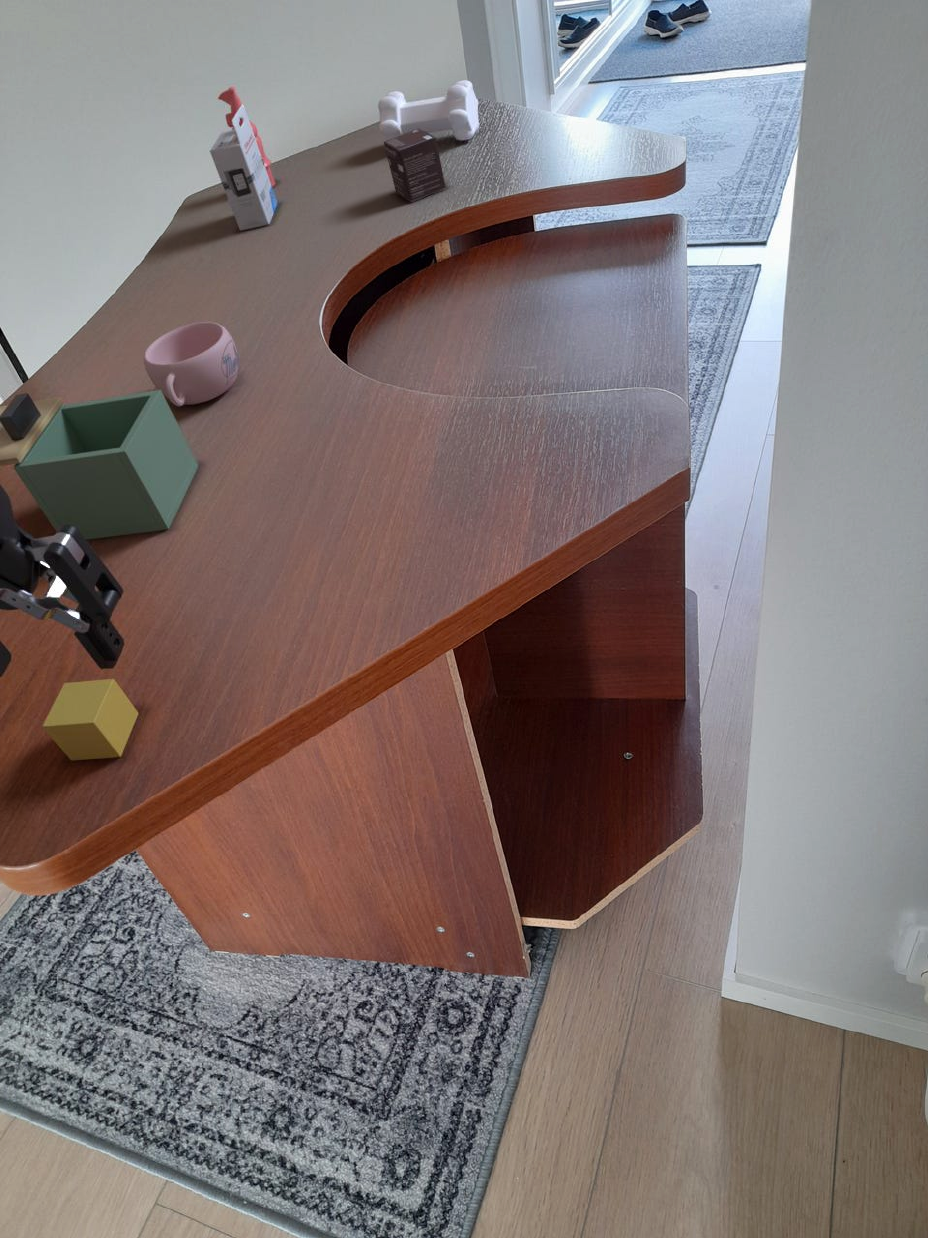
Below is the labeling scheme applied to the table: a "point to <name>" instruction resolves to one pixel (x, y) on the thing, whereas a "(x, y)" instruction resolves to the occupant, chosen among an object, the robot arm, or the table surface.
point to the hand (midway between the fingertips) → (57, 664)
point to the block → (91, 719)
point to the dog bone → (431, 113)
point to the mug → (193, 363)
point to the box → (415, 165)
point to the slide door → (23, 425)
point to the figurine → (235, 103)
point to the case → (110, 466)
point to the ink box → (244, 174)
